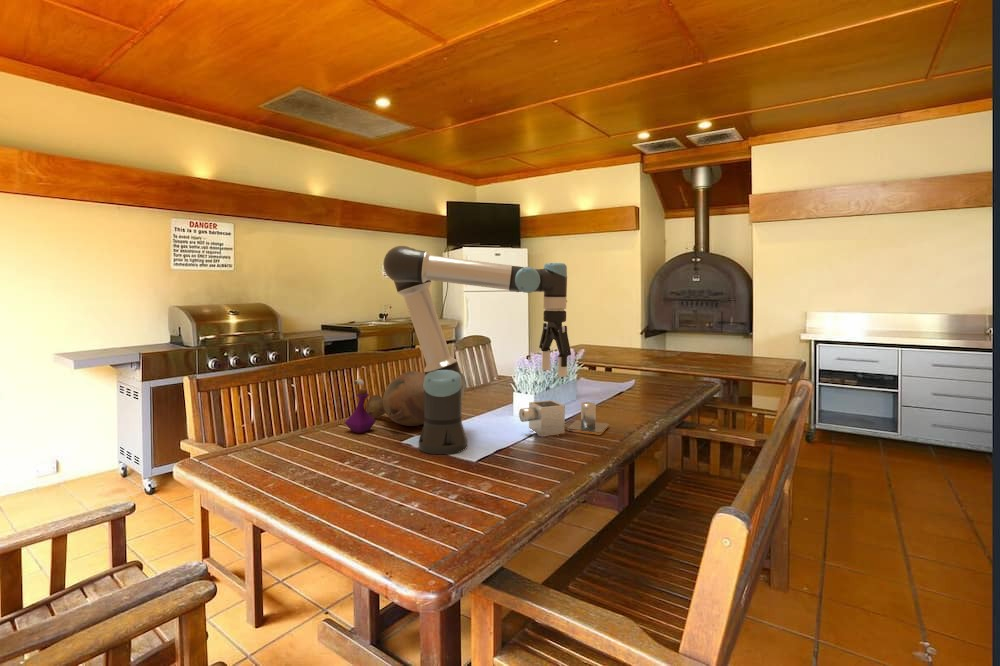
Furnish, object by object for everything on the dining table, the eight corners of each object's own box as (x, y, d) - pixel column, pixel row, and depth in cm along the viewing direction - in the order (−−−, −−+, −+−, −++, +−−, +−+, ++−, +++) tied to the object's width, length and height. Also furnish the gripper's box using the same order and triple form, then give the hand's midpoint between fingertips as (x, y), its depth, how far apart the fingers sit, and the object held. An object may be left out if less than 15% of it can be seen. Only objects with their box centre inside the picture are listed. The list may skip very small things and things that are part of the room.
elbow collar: (551, 427, 183) (551, 400, 182) (564, 434, 175) (564, 405, 174) (516, 432, 177) (516, 403, 177) (527, 439, 169) (527, 409, 168)
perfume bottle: (376, 430, 179) (375, 379, 177) (359, 435, 173) (358, 382, 171) (361, 426, 183) (360, 377, 181) (344, 431, 177) (343, 380, 175)
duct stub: (566, 431, 178) (567, 405, 177) (576, 423, 189) (576, 398, 188) (600, 435, 173) (601, 409, 172) (608, 427, 184) (609, 401, 183)
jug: (450, 425, 185) (394, 426, 203) (450, 371, 189) (395, 376, 206) (408, 426, 169) (351, 426, 187) (409, 367, 173) (353, 373, 190)
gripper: (582, 311, 160) (581, 379, 162) (550, 308, 183) (549, 366, 185) (560, 312, 157) (559, 380, 159) (530, 308, 181) (529, 367, 183)
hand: (553, 373), depth 172 cm, fingers open, 13 cm apart
